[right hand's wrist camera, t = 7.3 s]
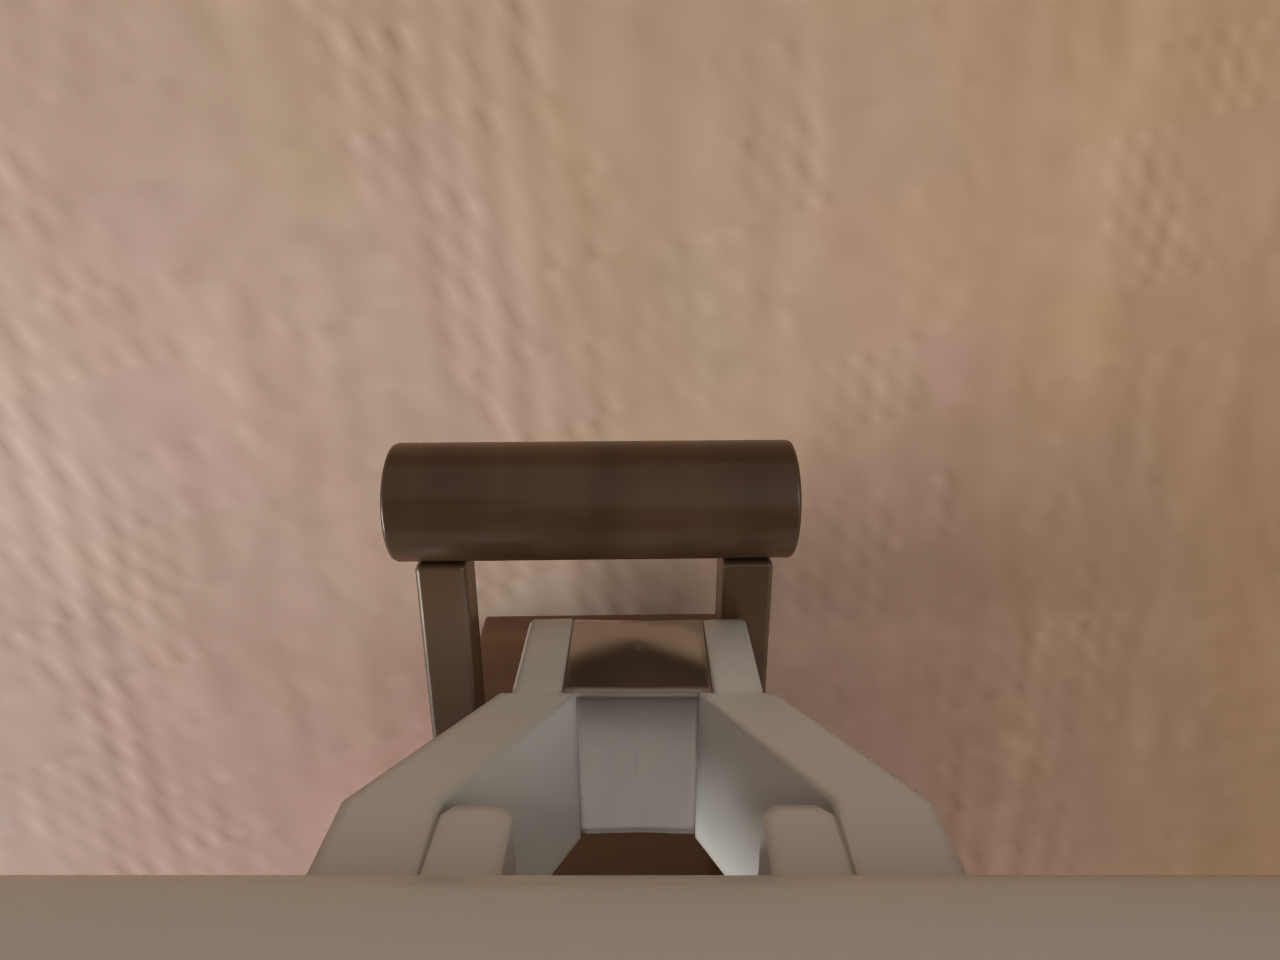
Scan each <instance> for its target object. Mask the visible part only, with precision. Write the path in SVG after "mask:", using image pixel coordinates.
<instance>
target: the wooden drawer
mask: <svg viewBox="0 0 1280 960" xmlns="http://www.w3.org/2000/svg"><path fill="white" fill-rule="evenodd" d="M801 507H802V497H801V479H800V470H799V464H798V459H797V455H796V452H795V449H794V447H793V445H792V443H791V442H790V441H787V440H706V441H581V442H457V443H398V444H395V445H393V446H392V447H391V449H390V450H389V452H388V454H387V457H386V460H385V464H384V468H383V473H382V479H381V490H380V514H381V525H382V532H383V537H384V540H385V544H386V547H387V550H388V552H389V554H390V556H391V557H392V558H393V559H394V560H396V561H399V562H411V561H419V563H418V565H417V567H416V570H415V571H416V580H417V589H418V599H419V608H420V618H421V627H422V636H423V646H424V655H425V665H426V674H427V683H428V693H429V702H430V712H431V721H432V730H433V739H434V738H436V737H437V736H439V735H440V734H442V733H443V732H444V731H446V730H447V729H449V728H450V727H452V726H453V725H455V724H456V723H458V722H459V721H460V720H462V719H463V718H465V717H466V716H468V715H469V714H471V713H472V712H474V711H475V710H476V709H478V708H479V707H481V706H482V705H484V704H485V703H487V702H488V701H489V700H491V699H492V698H494V697H495V696H497V695H498V694H500V693H512V691H513V687H514V683H515V679H516V675H517V671H518V667H519V664H520V660H521V656H522V652H523V648H524V644H525V640H526V636H527V632H528V628H529V624H530V623H531V622H532V621H533V620H534V619H572V620H573V621H574V620H575V619H577V620H631V621H659V620H701V619H702V620H717V619H739V618H742V619H743V620H744V621H745V622H746V626H747V630H748V634H749V638H750V642H751V646H752V650H753V654H754V658H755V662H756V666H757V670H758V674H759V678H760V682H761V686H762V690H763V693H765V685H766V669H767V652H768V636H769V619H770V602H771V586H772V569H773V565H772V562H771V560H770V558H774V557H790V556H791V555H793V553H794V551H795V549H796V546H797V543H798V538H799V533H800V525H801ZM684 558H717V582H716V611H715V614H669V615H588V616H508V617H487V618H486V619H485V622H484V625H483V629H482V632H481V635H480V631H479V618H478V606H477V593H476V580H475V568H474V561H502V560H593V559H684ZM552 875H724V874H723V873H722V871H721V870H720V869H719V867H718V866H717V865H716V864H715V862H714V861H713V860H712V858H711V857H710V856H709V855H708V853H707V852H706V851H705V849H704V848H703V847H702V846H701V844H700V843H699V842H698V840H697V839H696V838H695V834H681V833H644V832H629V833H594V834H580V839H579V841H578V842H577V843H576V844H575V846H574V847H573V848H572V850H571V851H570V852H569V853H568V855H567V856H566V857H565V858H564V860H563V861H562V862H561V864H560V865H559V866H558V867H557V869H556V870H555V871H554V872H553V874H552Z"/></svg>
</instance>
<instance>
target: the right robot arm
mask: <svg viewBox="0 0 1280 960" xmlns="http://www.w3.org/2000/svg"><path fill="white" fill-rule="evenodd" d="M629 832H644V833H681V834H695V838H696V839H697V840H698V842H699V843H700V844H701V846H702V847H703V848H704V849H705V851H706V852H707V853H708V855H709V856H710V857H711V858H712V860H713V861H714V862H715V864H716V865H717V866H718V867H719V869H720V870H721V871H722V873H723V874H724V875H552V874H553V872H554V871H555V870H556V869H557V867H558V866H559V865H560V864H561V862H562V861H563V860H564V858H565V857H566V856H567V855H568V853H569V852H570V851H571V850H572V848H573V847H574V846H575V844H576V843H577V842H578V841H579V839H580V834H594V833H629ZM0 960H1280V875H966V872H965V870H964V868H963V866H962V864H961V862H960V860H959V858H958V856H957V853H956V851H955V849H954V847H953V845H952V843H951V841H950V839H949V836H948V834H947V832H946V830H945V828H944V826H943V824H942V822H941V820H940V817H939V815H938V813H937V811H936V809H935V807H934V805H933V803H932V802H931V801H929V800H928V799H926V798H925V797H923V796H922V795H920V794H919V793H918V792H916V791H915V790H913V789H912V788H910V787H909V786H908V785H906V784H905V783H903V782H902V781H900V780H899V779H898V778H896V777H895V776H893V775H892V774H890V773H889V772H887V771H886V770H885V769H883V768H882V767H880V766H879V765H877V764H876V763H875V762H873V761H872V760H870V759H869V758H867V757H866V756H865V755H863V754H862V753H860V752H859V751H857V750H856V749H854V748H853V747H852V746H850V745H849V744H847V743H846V742H844V741H843V740H842V739H840V738H839V737H837V736H836V735H834V734H833V733H832V732H830V731H829V730H827V729H826V728H824V727H823V726H821V725H820V724H819V723H817V722H816V721H814V720H813V719H811V718H810V717H809V716H807V715H806V714H804V713H803V712H801V711H800V710H799V709H797V708H796V707H794V706H793V705H791V704H790V703H788V702H787V701H786V700H784V699H783V698H781V697H780V696H778V695H777V694H776V693H763V690H762V686H761V682H760V678H759V674H758V670H757V666H756V662H755V658H754V654H753V650H752V646H751V642H750V638H749V634H748V630H747V626H746V622H745V621H744V620H743V619H742V618H739V619H717V620H702V619H701V620H659V621H631V620H577V619H575V620H574V621H573V620H572V619H534V620H533V621H532V622H531V623H530V624H529V628H528V632H527V636H526V640H525V644H524V648H523V652H522V656H521V660H520V664H519V667H518V671H517V675H516V679H515V683H514V687H513V691H512V693H500V694H498V695H497V696H495V697H494V698H492V699H491V700H489V701H488V702H487V703H485V704H484V705H482V706H481V707H479V708H478V709H476V710H475V711H474V712H472V713H471V714H469V715H468V716H466V717H465V718H463V719H462V720H460V721H459V722H458V723H456V724H455V725H453V726H452V727H450V728H449V729H447V730H446V731H444V732H443V733H442V734H440V735H439V736H437V737H436V738H434V739H433V740H431V741H430V742H428V743H427V744H426V745H424V746H423V747H421V748H420V749H418V750H417V751H415V752H414V753H412V754H411V755H410V756H408V757H407V758H405V759H404V760H402V761H401V762H399V763H398V764H396V765H395V766H394V767H392V768H391V769H389V770H388V771H386V772H385V773H383V774H382V775H380V776H379V777H378V778H376V779H375V780H373V781H372V782H370V783H369V784H367V785H366V786H365V787H363V788H362V789H360V790H359V791H357V792H356V793H354V794H353V795H351V796H350V797H349V798H347V799H346V800H344V801H343V802H342V803H341V806H340V808H339V810H338V812H337V814H336V816H335V818H334V820H333V822H332V824H331V826H330V828H329V830H328V832H327V834H326V836H325V838H324V840H323V842H322V844H321V846H320V848H319V851H318V853H317V855H316V857H315V859H314V861H313V863H312V865H311V867H310V869H309V871H308V873H307V875H0Z"/></svg>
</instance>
